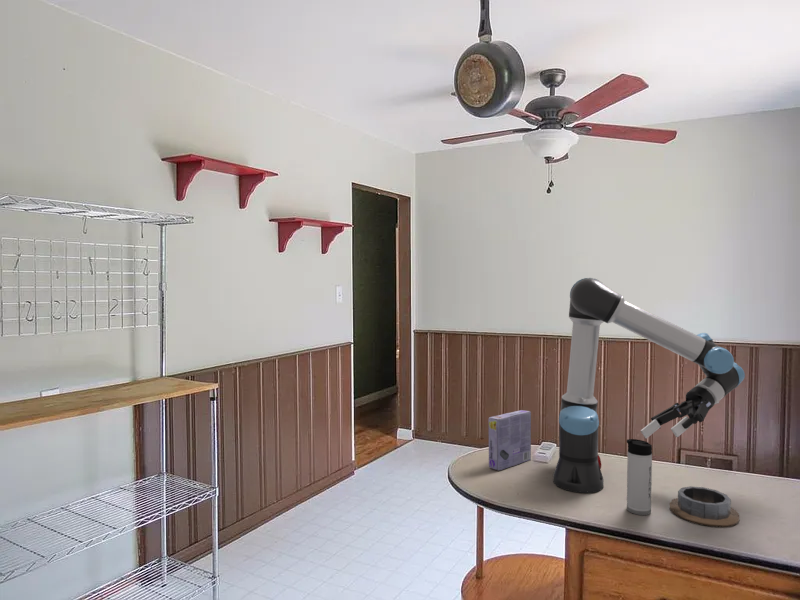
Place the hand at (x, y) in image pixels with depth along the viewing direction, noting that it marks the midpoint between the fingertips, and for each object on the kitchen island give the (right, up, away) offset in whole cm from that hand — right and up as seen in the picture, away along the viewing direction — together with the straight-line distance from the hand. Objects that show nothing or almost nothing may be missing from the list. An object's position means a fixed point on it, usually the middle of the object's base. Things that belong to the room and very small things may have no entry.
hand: (658, 433), depth 164 cm
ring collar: (+8, -20, -10) cm, 23 cm away
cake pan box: (-37, -18, +30) cm, 51 cm away
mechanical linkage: (-13, -18, +30) cm, 37 cm away
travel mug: (-9, -20, -8) cm, 23 cm away
